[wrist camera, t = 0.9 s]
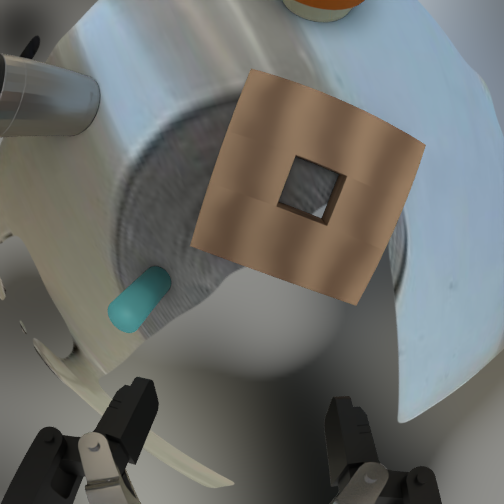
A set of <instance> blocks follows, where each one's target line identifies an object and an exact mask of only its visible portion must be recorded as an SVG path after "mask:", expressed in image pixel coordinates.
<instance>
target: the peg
mask: <svg viewBox="0 0 504 504" xmlns="http://www.w3.org/2000/svg"><path fill="white" fill-rule="evenodd" d="M170 286H171V279H170V276H169V274H168V273H167V272H166V271H165V270H164V269H163V268H161V267H157V266H153V267H150V268H149V269H147V270H146V271H145V272H144V273H143V274H142V275H141V276H140V277H139V278H137V279H136V280H135V281H134V282H133V283H132V284H131V285H130V286H129V287H128V288H126V289H125V290H124V291H123V292H122V293H121V294H120V295H119V296H118V297H117V298H116V299H115V300H114V301H113V302H111V303H110V305H109V307H108V315H109V318H110V320H111V322H112V323H113V324H114V326H115V327H117V328H118V329H119V330H121V331H123V332H126V333H132V332H135V331H136V330H137V329H138V328H139V327H140V325H141V324H142V323H143V321H144V320H145V319H146V318H147V316H148V315H149V314H150V313H151V311H152V310H153V309H154V307H155V306H156V305H157V304H158V302H159V301H160V300H161V299H162V297H163V296H164V295H165V294H166V292H167V291H168V290H169V289H170Z"/></svg>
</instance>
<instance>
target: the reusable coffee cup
mask: <svg viewBox="0 0 504 504" xmlns="http://www.w3.org/2000/svg"><path fill="white" fill-rule="evenodd" d="M363 1H364V0H283V3H284V4H285V5H286V7H287V8H288V9H289V10H290V11H291V12H293V13H294V14H296V15H298V16H300V17H302V18H304V19H307V20H310V21H316V22H332V21H336V20H339V19H341V18H343V17H344V16H345V15H347V14H348V12H349V11H350V10H351V9H352V8H353V7H355V6H357V5H359V4H360V3H362V2H363Z"/></svg>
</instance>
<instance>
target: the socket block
mask: <svg viewBox="0 0 504 504" xmlns="http://www.w3.org/2000/svg"><path fill="white" fill-rule="evenodd" d="M425 146H426V145H425V144H423V143H422V142H420V141H419V140H417V139H415V138H414V137H412V136H410V135H409V134H407V133H405V132H403V131H402V130H400V129H398V128H396V127H394V126H393V125H391V124H389V123H387V122H385V121H383V120H381V119H379V118H378V117H376V116H374V115H372V114H370V113H368V112H366V111H363V110H361V109H359V108H357V107H355V106H353V105H351V104H348V103H346V102H344V101H342V100H339V99H337V98H335V97H332V96H330V95H327V94H325V93H323V92H320V91H317V90H315V89H312V88H310V87H307V86H304V85H301V84H299V83H296V82H293V81H290V80H287V79H284V78H281V77H278V76H275V75H271V74H268V73H265V72H261V71H258V70H254V69H251V70H250V73H249V75H248V78H247V80H246V83H245V85H244V88H243V90H242V93H241V95H240V98H239V100H238V103H237V106H236V108H235V111H234V114H233V116H232V119H231V122H230V124H229V127H228V130H227V133H226V135H225V138H224V141H223V144H222V147H221V150H220V152H219V155H218V158H217V161H216V164H215V167H214V170H213V173H212V176H211V179H210V182H209V185H208V188H207V192H206V195H205V198H204V201H203V204H202V208H201V211H200V214H199V217H198V221H197V224H196V227H195V231H194V234H193V238H192V241H191V245H190V246H192V247H194V248H197V249H200V250H202V251H205V252H208V253H210V254H213V255H216V256H218V257H221V258H224V259H227V260H229V261H232V262H235V263H238V264H240V265H243V266H246V267H249V268H251V269H254V270H257V271H260V272H262V273H265V274H268V275H271V276H273V277H276V278H279V279H282V280H285V281H288V282H290V283H293V284H296V285H299V286H301V287H304V288H307V289H310V290H313V291H316V292H319V293H321V294H324V295H327V296H330V297H333V298H336V299H338V300H342V301H344V302H347V303H350V304H353V305H357V303H358V301H359V300H360V298H361V296H362V294H363V292H364V290H365V288H366V286H367V284H368V283H369V281H370V279H371V277H372V275H373V273H374V271H375V269H376V267H377V265H378V263H379V260H380V259H381V256H382V254H383V252H384V250H385V248H386V246H387V244H388V242H389V239H390V237H391V235H392V233H393V230H394V228H395V226H396V224H397V221H398V219H399V217H400V214H401V212H402V209H403V207H404V204H405V202H406V199H407V197H408V194H409V192H410V189H411V186H412V184H413V181H414V178H415V176H416V173H417V170H418V167H419V164H420V161H421V158H422V155H423V152H424V149H425ZM295 156H296V157H299V158H301V159H304V160H306V161H309V162H311V163H314V164H316V165H319V166H321V167H323V168H326V169H328V170H331V171H333V172H335V173H338V174H339V176H338V178H337V181H336V184H335V186H334V189H333V191H332V194H331V196H330V199H329V201H328V204H327V206H326V209H325V211H324V214H323V216H322V218H319V217H316V216H314V215H311V214H309V213H306V212H304V211H301V210H299V209H296V208H294V207H291V206H288V205H286V204H283V203H280V202H278V201H279V198H280V195H281V193H282V190H283V187H284V185H285V182H286V179H287V177H288V174H289V171H290V169H291V166H292V163H293V161H294V158H295Z"/></svg>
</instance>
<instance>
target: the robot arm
mask: <svg viewBox="0 0 504 504" xmlns="http://www.w3.org/2000/svg"><path fill="white" fill-rule="evenodd" d="M99 99H100V93H99V87H98V84H97V83H96V81H95V80H94V79H93V78H92V77H89V76H86V75H83V74H80V73H77V72H74V71H71V70H68V69H64V68H61V67H58V66H54V65H50V64H47V63H43V62H39V61H35V60H31V59H27V58H22V57H17V56H12V55H7V54H2V53H0V137H17V136H74V135H77V134H79V133H81V132H82V131H84V130H85V129H86V128H87V127H88V126H89V124H90V123H91V122H92V120H93V118H94V116H95V114H96V112H97V109H98V105H99ZM158 405H159V402H158V398H157V394H156V391H155V386H154V382H153V381H152V380H150V379H145V378H141V377H136V378H135V379H134V381H133V382H132V384H131V386H128V385H124V386H123V387H122V388H121V389H119V390H118V391H117V392H116V394H115V396H114V397H113V400H112V401H111V402H110V404H109V407H108V408H107V409H106V411H105V413H104V414H103V416H102V418H101V420H100V422H99V423H98V425H97V427H96V429H95V430H94V431H93V432H90V433H86V434H84V435H83V436H82V437H72V436H65V435H62V434H61V432H60V431H59V430H58V429H56V428H54V427H45V428H43V429H41V430H40V431H39V433H38V434H37V436H36V438H35V439H34V441H33V443H32V444H31V446H30V448H29V450H28V452H27V453H26V455H25V457H24V459H23V461H22V463H21V464H20V466H19V468H18V470H17V472H16V474H15V476H14V478H13V480H12V482H11V484H10V486H9V488H8V490H7V492H6V494H5V496H4V498H3V500H2V503H1V504H73V502H74V499H75V496H76V494H77V491H78V489H79V486H80V484H81V481H82V479H83V476H85V477H86V480H87V485H86V486H85V490H86V494H87V498H88V500H89V504H141V502H140V501H139V499H138V497H137V494H136V492H135V490H134V488H133V485H132V483H131V481H130V479H129V476H128V473H127V471H126V469H125V468H126V466H127V463H128V462H129V463H131V464H135V465H136V463H137V460H138V457H139V455H140V452H141V450H142V448H143V445H144V443H145V440H146V438H147V436H148V433H149V431H150V428H151V426H152V424H153V421H154V419H155V416H156V414H157V411H158ZM324 430H325V438H326V446H327V453H328V463H329V472H330V481H331V486H339V493H338V494H337V496H336V497H335V498H334V500H333V501H332V502H331V503H330V504H442V502H441V498H440V494H439V489H438V486H437V482H436V478H435V474H434V473H433V471H432V470H431V469H429V468H427V467H424V466H420V467H416V468H414V469H412V470H411V471H410V472H400V471H391V470H388V469H386V467H385V466H383V465H382V464H380V462H379V460H378V456H377V452H376V448H375V444H374V440H373V437H372V433H371V429H370V426H369V422H368V418H367V415H366V414H365V412H364V411H363V410H362V409H361V407H353V405H352V402H351V398H350V397H349V396H345V397H344V396H343V397H333V398H332V399H331V402H330V405H329V408H328V411H327V413H326V416H325V422H324Z"/></svg>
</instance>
